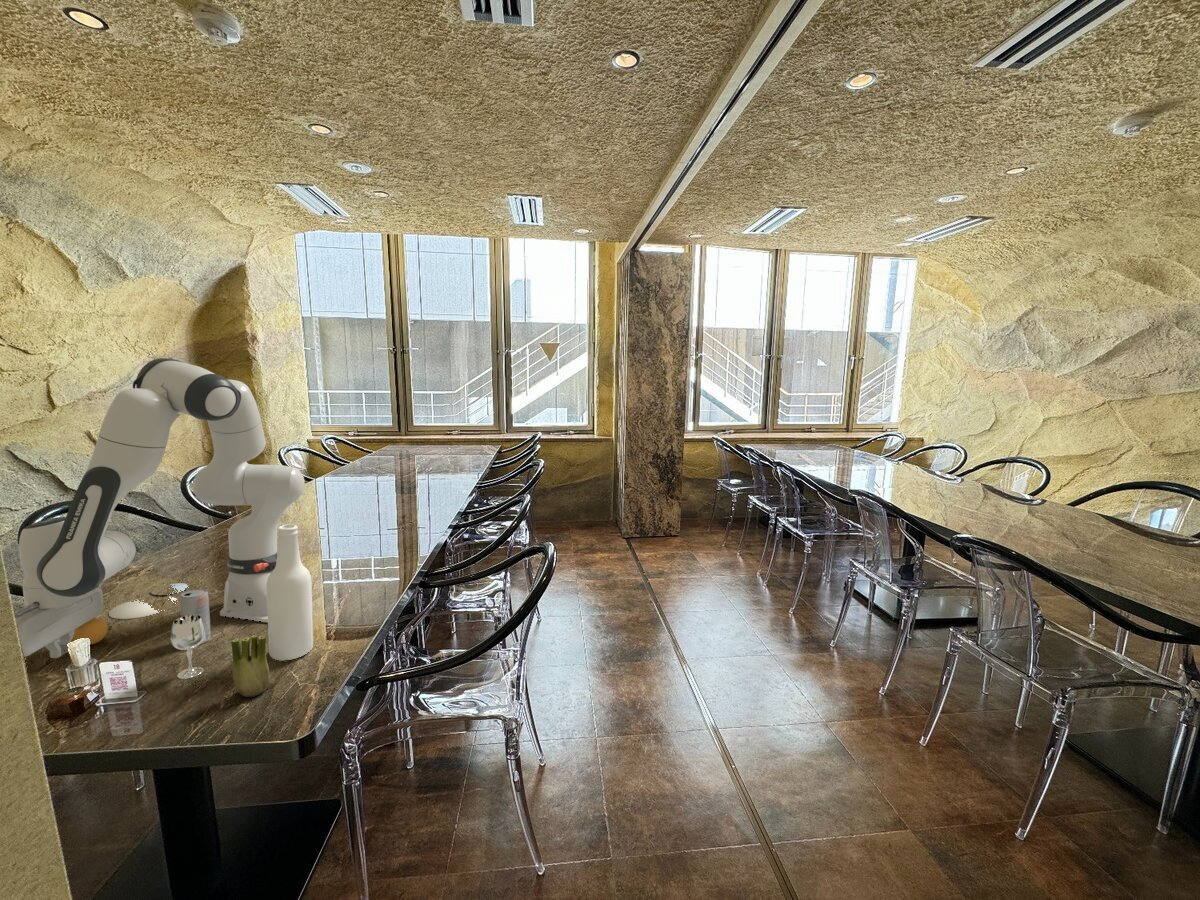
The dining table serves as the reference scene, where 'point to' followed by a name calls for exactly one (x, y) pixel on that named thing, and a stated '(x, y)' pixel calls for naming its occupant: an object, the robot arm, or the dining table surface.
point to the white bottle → (289, 600)
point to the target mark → (134, 610)
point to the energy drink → (197, 607)
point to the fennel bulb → (250, 666)
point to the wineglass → (188, 640)
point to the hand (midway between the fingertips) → (60, 654)
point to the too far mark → (179, 587)
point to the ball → (91, 630)
